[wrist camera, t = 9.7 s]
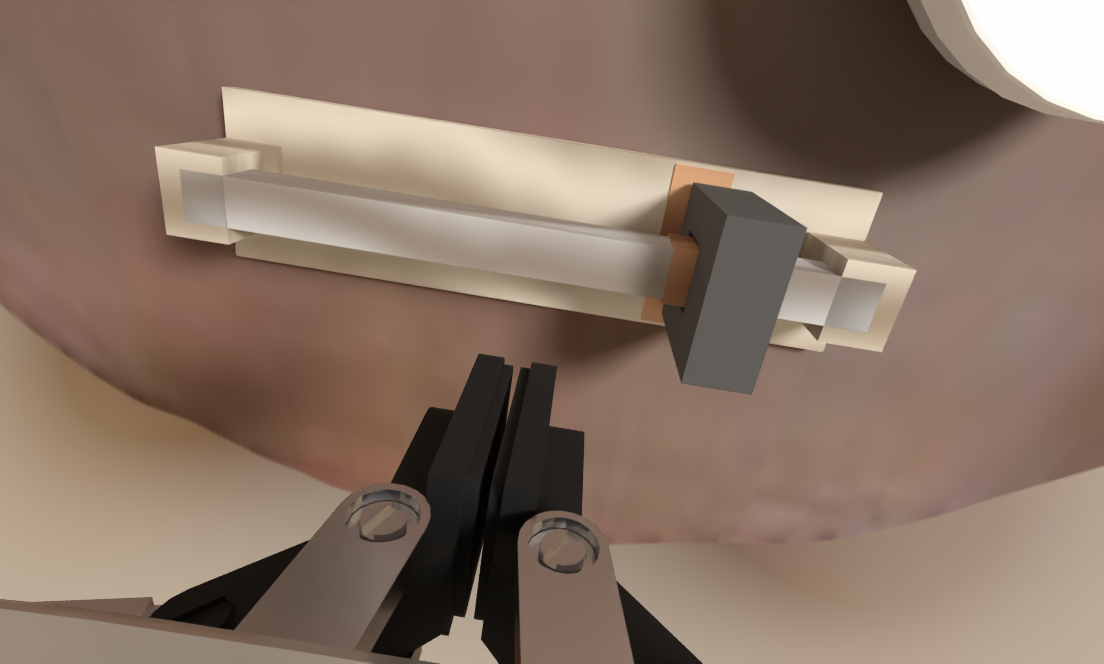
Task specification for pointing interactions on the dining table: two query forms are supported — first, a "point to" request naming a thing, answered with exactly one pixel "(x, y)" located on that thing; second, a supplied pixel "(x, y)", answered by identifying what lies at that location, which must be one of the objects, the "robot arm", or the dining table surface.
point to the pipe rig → (509, 215)
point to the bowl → (1025, 49)
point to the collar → (731, 287)
